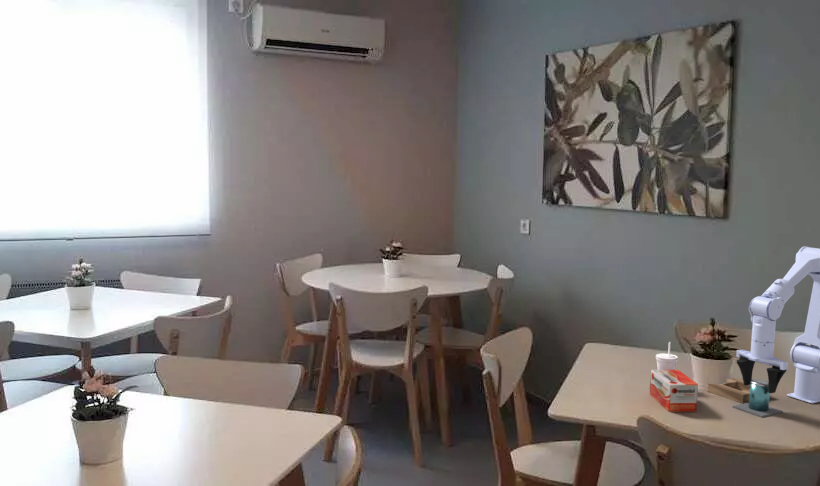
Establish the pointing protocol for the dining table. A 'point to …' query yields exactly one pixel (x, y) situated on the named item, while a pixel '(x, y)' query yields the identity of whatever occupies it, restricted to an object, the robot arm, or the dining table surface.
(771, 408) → the mat
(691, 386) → the medicine box
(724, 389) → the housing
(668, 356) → the smoothie
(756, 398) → the teal can
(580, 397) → the dining table surface
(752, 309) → the robot arm
